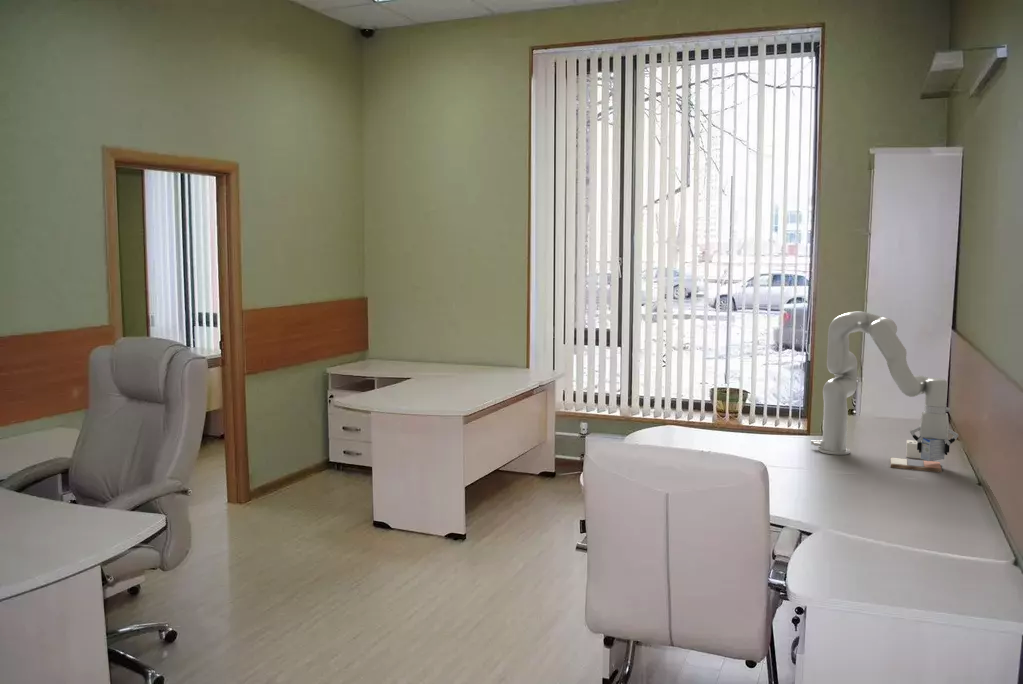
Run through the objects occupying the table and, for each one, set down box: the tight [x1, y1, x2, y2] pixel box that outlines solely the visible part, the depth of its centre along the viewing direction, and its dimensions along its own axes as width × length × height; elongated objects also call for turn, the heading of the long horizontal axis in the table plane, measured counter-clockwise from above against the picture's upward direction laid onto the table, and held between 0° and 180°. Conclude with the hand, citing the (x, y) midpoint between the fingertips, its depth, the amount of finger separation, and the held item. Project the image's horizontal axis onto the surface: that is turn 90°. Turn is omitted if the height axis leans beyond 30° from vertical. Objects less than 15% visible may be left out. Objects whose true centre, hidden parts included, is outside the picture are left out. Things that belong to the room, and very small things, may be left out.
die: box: [905, 439, 922, 460], centre depth 357 cm, size 6×6×6 cm
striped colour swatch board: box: [890, 457, 942, 473], centre depth 341 cm, size 18×12×1 cm, turn 66°
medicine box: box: [920, 438, 946, 462], centre depth 338 cm, size 8×4×9 cm, turn 109°
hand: (932, 453), depth 338 cm, fingers closed on medicine box, 8 cm apart
